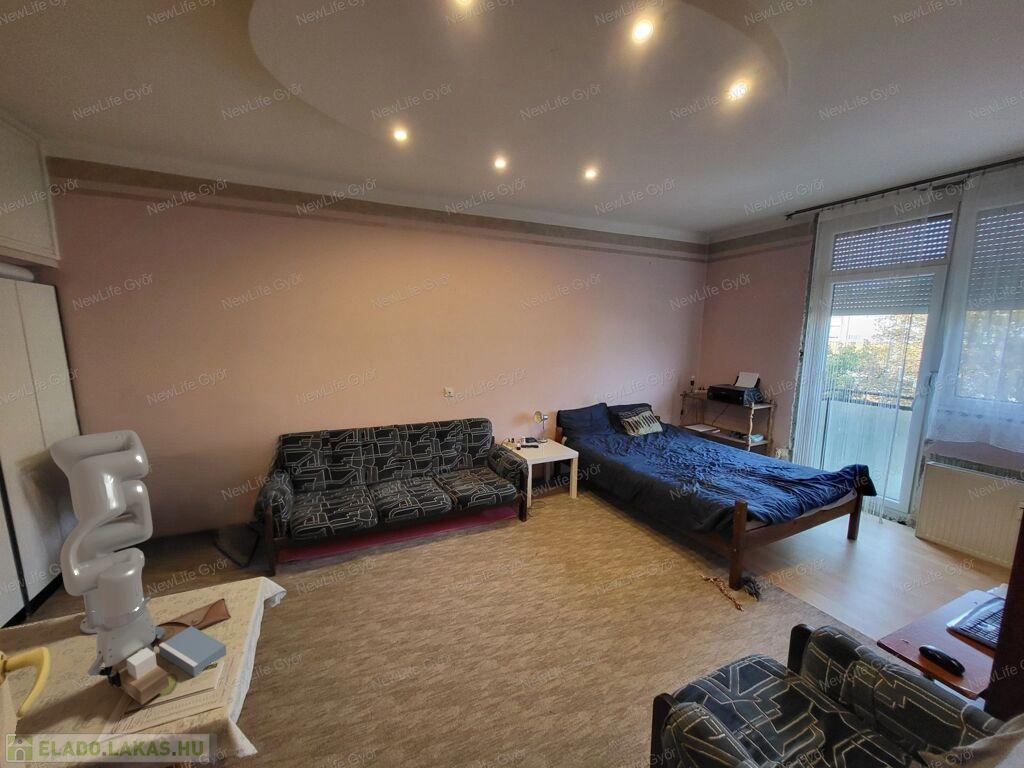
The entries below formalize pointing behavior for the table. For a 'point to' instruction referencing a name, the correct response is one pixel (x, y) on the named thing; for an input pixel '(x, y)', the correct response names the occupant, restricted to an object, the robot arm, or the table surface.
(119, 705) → the table surface
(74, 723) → the table surface
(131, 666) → the small white cube
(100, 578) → the robot arm
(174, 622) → the sunglasses case
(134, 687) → the curved wooden block
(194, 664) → the block
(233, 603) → the table surface
